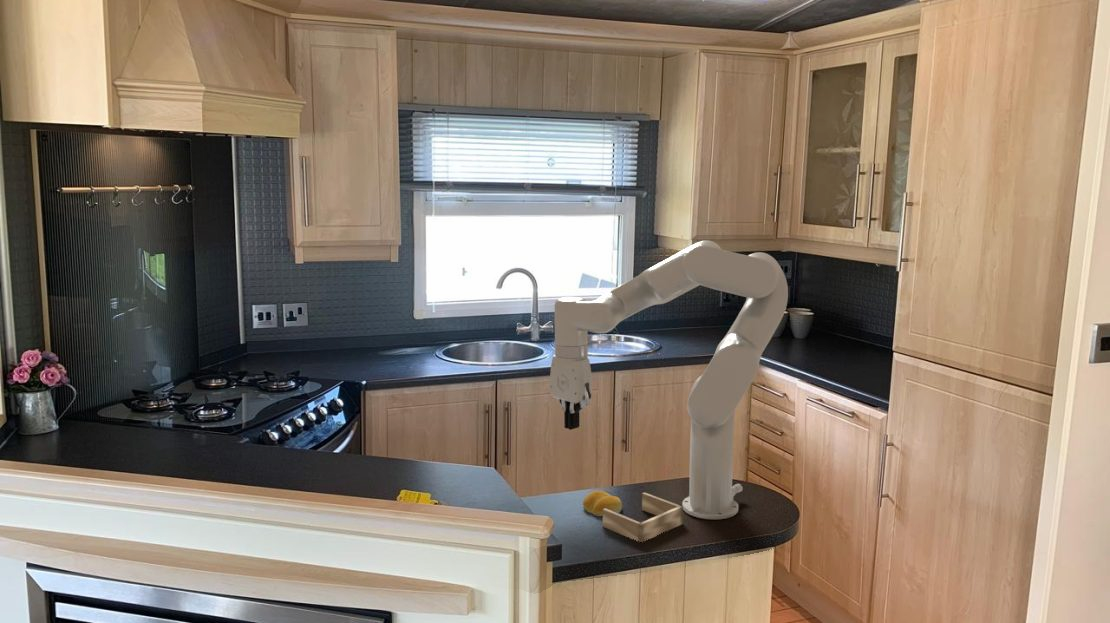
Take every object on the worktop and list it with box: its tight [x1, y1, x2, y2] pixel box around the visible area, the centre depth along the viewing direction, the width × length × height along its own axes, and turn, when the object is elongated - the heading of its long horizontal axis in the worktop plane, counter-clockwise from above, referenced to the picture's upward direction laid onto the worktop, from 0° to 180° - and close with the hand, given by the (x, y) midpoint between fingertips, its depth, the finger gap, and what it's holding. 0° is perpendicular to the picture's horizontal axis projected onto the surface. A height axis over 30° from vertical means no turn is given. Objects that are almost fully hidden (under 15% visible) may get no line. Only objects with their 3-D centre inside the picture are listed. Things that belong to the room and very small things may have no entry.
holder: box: [602, 492, 684, 543], centre depth 189 cm, size 14×11×4 cm
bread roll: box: [582, 490, 623, 517], centre depth 197 cm, size 8×9×4 cm
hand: (572, 427), depth 202 cm, fingers closed
